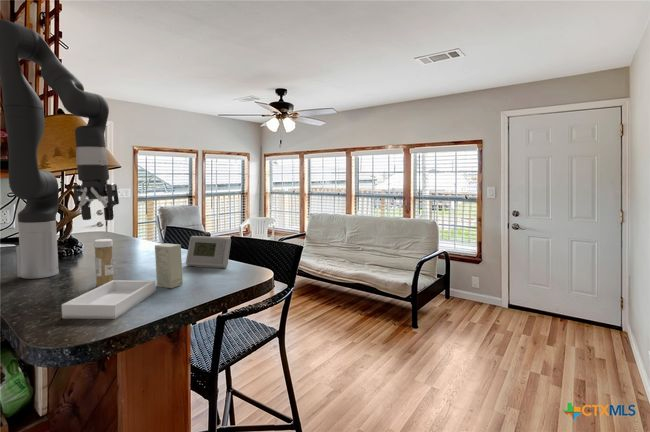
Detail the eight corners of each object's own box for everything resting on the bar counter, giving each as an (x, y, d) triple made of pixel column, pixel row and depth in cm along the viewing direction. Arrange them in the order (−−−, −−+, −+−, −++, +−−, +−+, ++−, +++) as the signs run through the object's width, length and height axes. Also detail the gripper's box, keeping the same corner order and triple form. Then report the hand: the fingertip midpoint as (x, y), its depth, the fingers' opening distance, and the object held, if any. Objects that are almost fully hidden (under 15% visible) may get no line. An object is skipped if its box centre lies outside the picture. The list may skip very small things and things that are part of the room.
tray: (62, 318, 79) (61, 304, 78) (112, 291, 98) (112, 280, 98) (115, 318, 79) (114, 305, 79) (155, 291, 98) (155, 280, 98)
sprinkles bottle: (114, 286, 103) (113, 240, 101) (95, 288, 100) (93, 241, 99) (113, 282, 106) (112, 238, 105) (95, 284, 104) (93, 239, 103)
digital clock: (182, 266, 129) (182, 237, 128) (200, 261, 137) (199, 233, 136) (219, 271, 123) (219, 240, 122) (235, 265, 131) (235, 237, 130)
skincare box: (183, 285, 105) (182, 244, 104) (170, 289, 101) (169, 246, 100) (167, 282, 108) (166, 242, 107) (155, 286, 104) (154, 244, 103)
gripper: (61, 164, 101) (67, 221, 103) (99, 162, 96) (105, 222, 98) (86, 165, 108) (91, 218, 110) (123, 163, 104) (127, 218, 105)
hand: (98, 220), depth 104 cm, fingers open, 8 cm apart
